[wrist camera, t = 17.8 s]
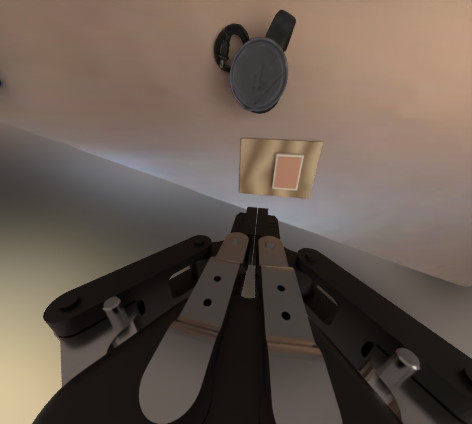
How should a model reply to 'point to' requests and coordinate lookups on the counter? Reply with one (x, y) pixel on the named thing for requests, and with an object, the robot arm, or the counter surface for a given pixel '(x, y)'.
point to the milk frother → (257, 63)
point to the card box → (287, 171)
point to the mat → (263, 162)
